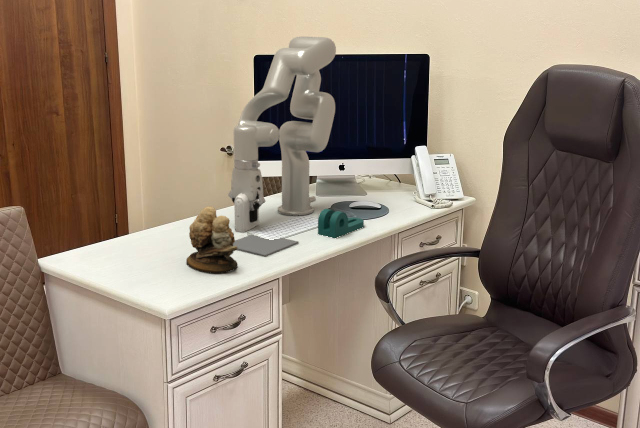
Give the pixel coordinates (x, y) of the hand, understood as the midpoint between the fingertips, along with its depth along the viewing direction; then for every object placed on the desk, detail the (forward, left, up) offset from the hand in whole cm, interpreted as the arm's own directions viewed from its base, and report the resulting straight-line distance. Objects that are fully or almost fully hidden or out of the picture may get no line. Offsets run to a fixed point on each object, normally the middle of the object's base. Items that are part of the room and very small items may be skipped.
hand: (246, 219), depth 237 cm
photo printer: (0, 0, -3) cm, 3 cm away
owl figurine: (+33, +16, -3) cm, 37 cm away
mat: (+11, +15, -3) cm, 19 cm away
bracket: (-17, +26, -3) cm, 31 cm away
